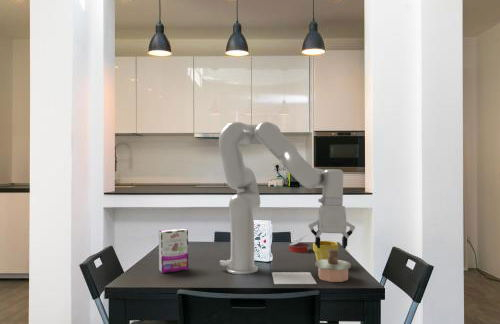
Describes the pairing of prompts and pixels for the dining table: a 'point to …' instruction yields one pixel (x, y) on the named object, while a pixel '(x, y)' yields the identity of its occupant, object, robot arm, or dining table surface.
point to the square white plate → (293, 278)
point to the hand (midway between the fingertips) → (331, 247)
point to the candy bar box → (173, 250)
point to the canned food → (298, 246)
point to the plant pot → (324, 249)
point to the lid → (332, 262)
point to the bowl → (333, 275)
